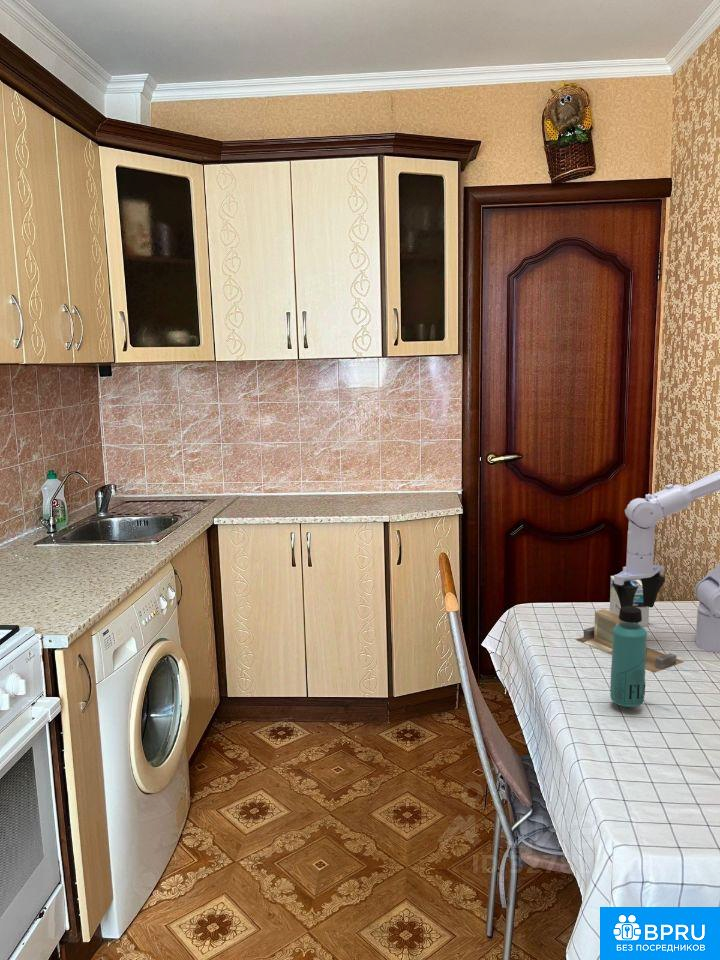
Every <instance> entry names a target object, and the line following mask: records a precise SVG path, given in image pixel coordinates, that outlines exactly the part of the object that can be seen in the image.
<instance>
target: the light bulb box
mask: <svg viewBox="0 0 720 960" xmlns="http://www.w3.org/2000/svg"><path fill="white" fill-rule="evenodd" d="M612 581H614V575H610V589H609V590H610V591H609V592H610V593H609V595H610V597H609V611H611V612H614V613H617V614H619V613H620V608H621V605H620V601H619V598H618V595H617V593H616V591H615V589H614V587H613V585H612ZM631 583H632V585H633V586H636V587H638V589H637V591H636V593H635V596H634V599H633V606H632V607H637V608H639V609H641V616H642V621H641V622H638V623H637V624H639V625H641V626H642V627H643V628H648V627H649V618H650V617H649V616H650V607H648V606H645V605H644V603H643V587H642V582H641V579H639V580H635V581H631Z"/></svg>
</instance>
